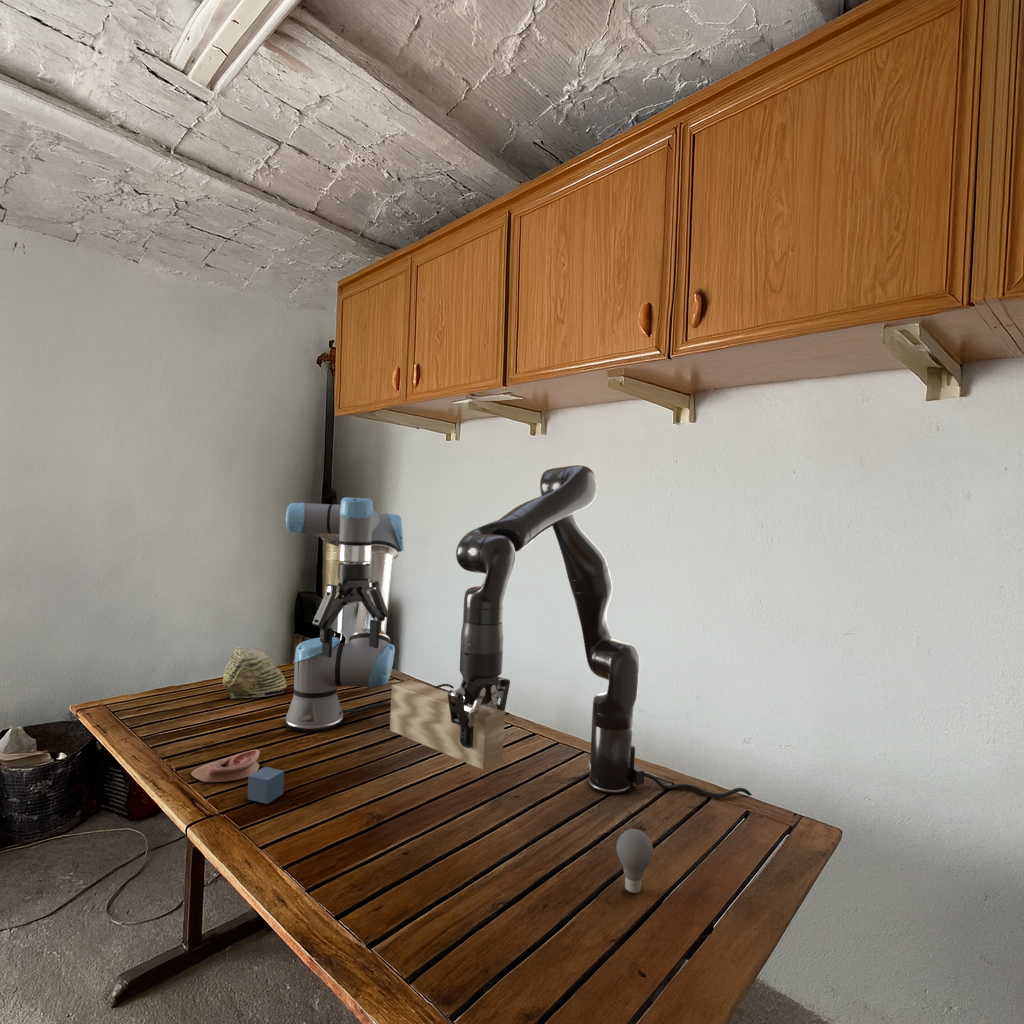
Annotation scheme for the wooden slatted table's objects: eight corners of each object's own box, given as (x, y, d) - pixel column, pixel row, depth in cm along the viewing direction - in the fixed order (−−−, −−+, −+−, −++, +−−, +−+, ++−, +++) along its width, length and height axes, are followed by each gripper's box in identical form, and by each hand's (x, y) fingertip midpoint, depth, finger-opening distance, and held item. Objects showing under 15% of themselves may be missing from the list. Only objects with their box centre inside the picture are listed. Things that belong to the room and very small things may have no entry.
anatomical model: (182, 760, 139) (216, 741, 150) (181, 778, 139) (216, 758, 150) (236, 768, 136) (267, 748, 147) (235, 786, 136) (266, 765, 147)
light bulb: (610, 879, 108) (613, 822, 108) (644, 879, 109) (647, 822, 109) (619, 902, 102) (622, 840, 102) (655, 901, 103) (658, 840, 103)
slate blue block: (264, 789, 136) (265, 766, 136) (283, 793, 134) (284, 770, 134) (247, 799, 131) (248, 775, 131) (267, 804, 130) (268, 780, 130)
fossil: (218, 695, 195) (220, 647, 195) (278, 685, 208) (279, 640, 207) (228, 703, 189) (230, 653, 188) (289, 692, 201) (290, 645, 201)
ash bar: (389, 730, 124) (391, 684, 123) (409, 724, 127) (411, 679, 127) (483, 770, 107) (485, 717, 107) (502, 761, 111) (505, 711, 111)
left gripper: (385, 558, 162) (381, 641, 163) (298, 563, 143) (295, 657, 143) (404, 561, 158) (401, 646, 158) (318, 567, 138) (314, 663, 139)
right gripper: (493, 637, 119) (489, 727, 120) (437, 648, 108) (433, 747, 109) (524, 644, 115) (519, 737, 115) (468, 657, 104) (464, 760, 104)
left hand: (351, 651), depth 151 cm, fingers open, 13 cm apart
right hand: (477, 742), depth 112 cm, fingers closed on ash bar, 5 cm apart
